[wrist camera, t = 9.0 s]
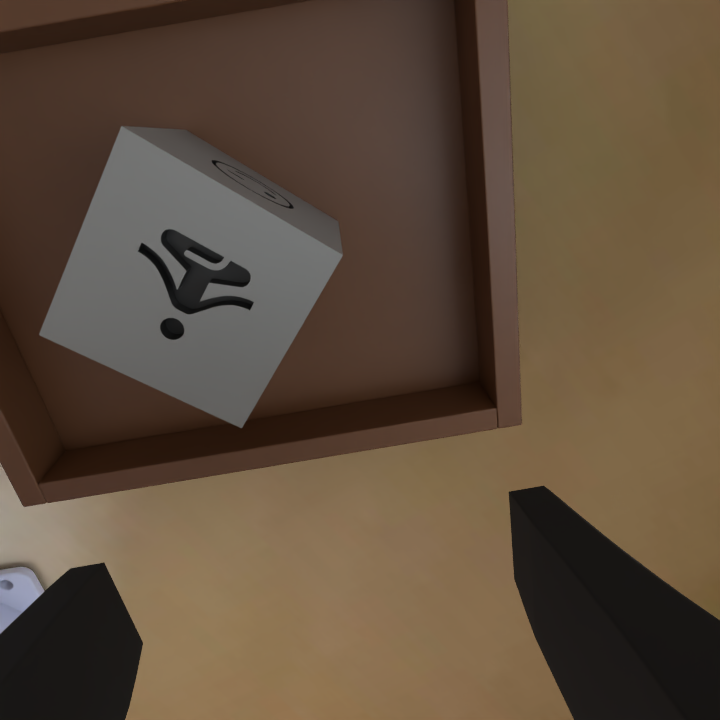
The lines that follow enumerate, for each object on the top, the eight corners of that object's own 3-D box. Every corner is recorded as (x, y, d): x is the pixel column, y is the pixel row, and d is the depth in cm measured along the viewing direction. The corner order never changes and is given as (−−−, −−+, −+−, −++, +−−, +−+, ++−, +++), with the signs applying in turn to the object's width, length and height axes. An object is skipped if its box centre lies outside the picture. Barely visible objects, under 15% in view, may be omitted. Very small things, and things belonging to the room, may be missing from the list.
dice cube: (338, 221, 16) (343, 255, 11) (263, 352, 17) (241, 428, 13) (185, 129, 15) (121, 126, 10) (120, 279, 16) (38, 335, 12)
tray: (58, 464, 19) (23, 507, 17) (-137, 45, 14) (-229, 27, 12) (498, 391, 19) (522, 425, 17) (475, -60, 14) (504, -99, 11)
